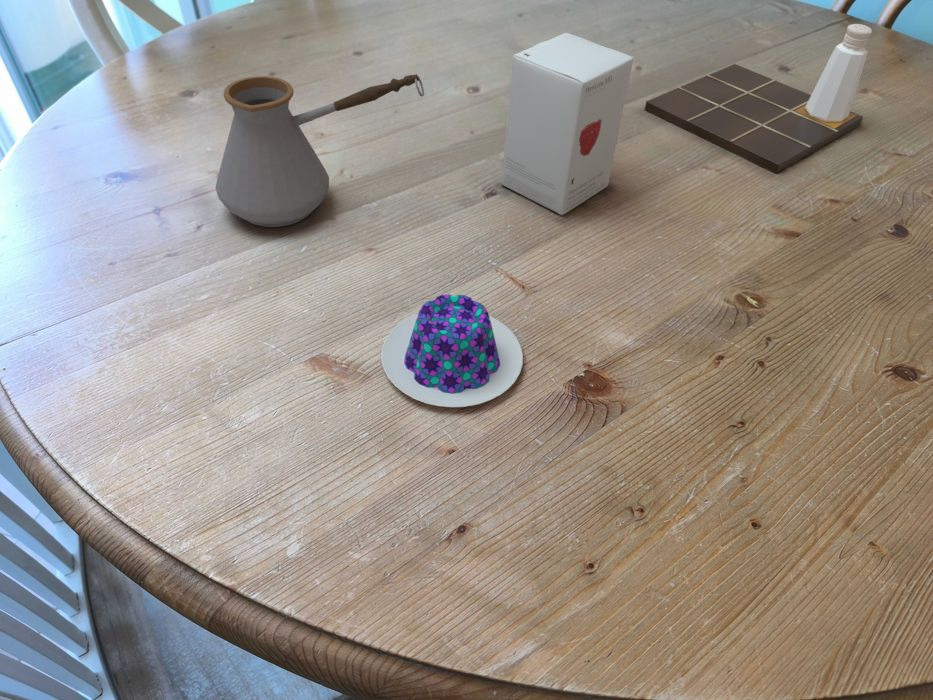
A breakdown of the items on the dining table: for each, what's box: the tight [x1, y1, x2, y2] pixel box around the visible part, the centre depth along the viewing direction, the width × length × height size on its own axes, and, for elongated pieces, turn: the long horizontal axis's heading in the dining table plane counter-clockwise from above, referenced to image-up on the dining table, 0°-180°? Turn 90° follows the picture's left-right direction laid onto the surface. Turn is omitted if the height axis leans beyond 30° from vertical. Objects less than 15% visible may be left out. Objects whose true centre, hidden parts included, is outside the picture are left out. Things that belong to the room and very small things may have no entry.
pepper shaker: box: [805, 23, 873, 122], centre depth 94 cm, size 5×5×11 cm
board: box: [644, 63, 864, 174], centre depth 98 cm, size 20×20×1 cm
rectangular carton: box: [500, 32, 634, 216], centre depth 79 cm, size 9×9×15 cm
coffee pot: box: [215, 74, 425, 228], centre depth 74 cm, size 21×12×15 cm, turn 90°
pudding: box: [380, 293, 524, 408], centre depth 62 cm, size 12×12×5 cm
